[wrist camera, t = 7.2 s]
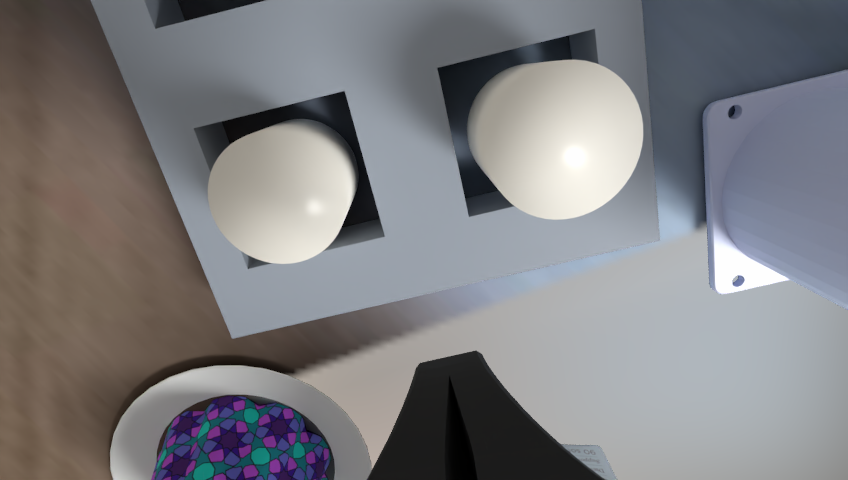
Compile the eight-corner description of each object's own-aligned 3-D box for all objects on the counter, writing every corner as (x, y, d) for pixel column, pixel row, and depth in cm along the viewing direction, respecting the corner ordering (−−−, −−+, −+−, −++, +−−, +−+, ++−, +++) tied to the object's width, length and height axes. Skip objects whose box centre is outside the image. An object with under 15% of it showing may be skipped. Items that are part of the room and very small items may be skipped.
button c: (341, 106, 17) (323, 116, 13) (371, 212, 18) (362, 247, 15) (233, 133, 17) (186, 149, 14) (270, 235, 19) (236, 277, 15)
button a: (578, 50, 15) (636, 41, 11) (593, 171, 17) (649, 200, 13) (455, 80, 15) (472, 82, 12) (479, 198, 17) (501, 234, 13)
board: (572, -365, 14) (607, -457, 11) (629, 220, 20) (659, 240, 17) (46, -217, 14) (-25, -275, 12) (252, 307, 20) (232, 338, 18)
